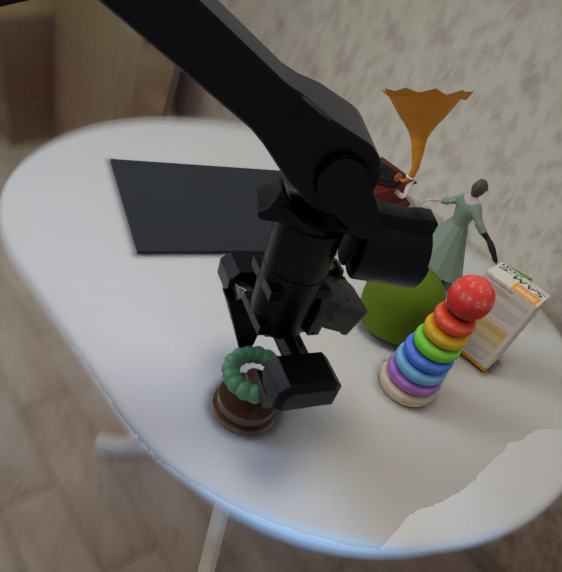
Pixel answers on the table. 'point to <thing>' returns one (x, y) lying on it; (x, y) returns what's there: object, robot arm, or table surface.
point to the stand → (241, 410)
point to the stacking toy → (436, 343)
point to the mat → (193, 206)
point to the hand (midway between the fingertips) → (254, 378)
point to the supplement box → (503, 315)
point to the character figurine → (458, 233)
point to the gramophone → (413, 137)
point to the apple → (400, 307)
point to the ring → (233, 375)
